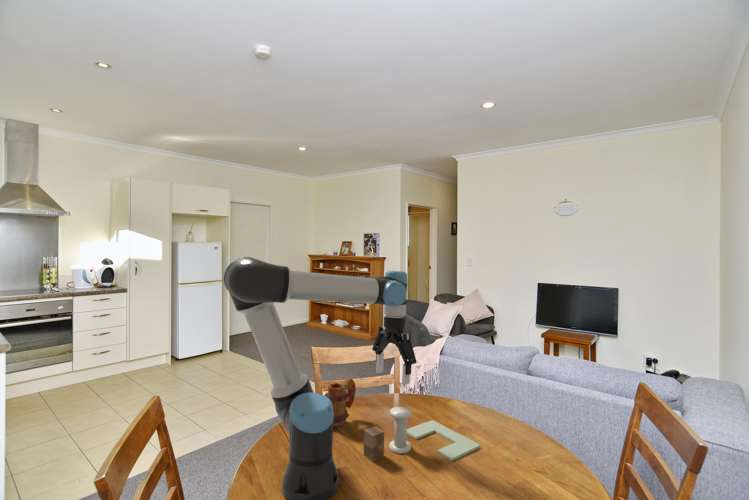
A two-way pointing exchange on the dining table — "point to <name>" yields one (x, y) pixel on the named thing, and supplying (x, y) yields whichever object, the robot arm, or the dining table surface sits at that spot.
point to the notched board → (453, 450)
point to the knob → (400, 430)
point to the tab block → (374, 443)
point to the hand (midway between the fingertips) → (392, 378)
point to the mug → (341, 399)
